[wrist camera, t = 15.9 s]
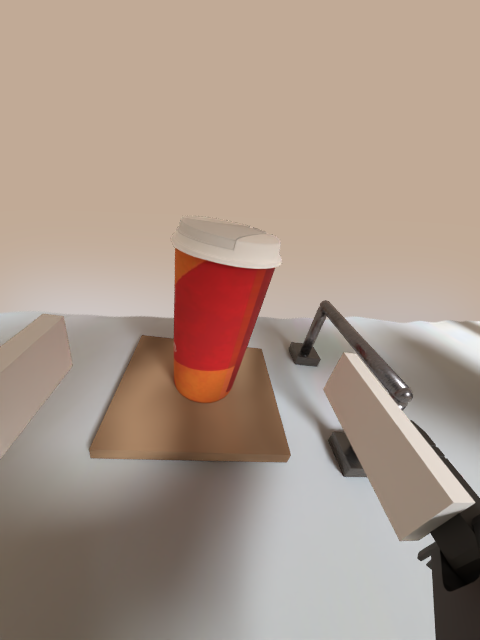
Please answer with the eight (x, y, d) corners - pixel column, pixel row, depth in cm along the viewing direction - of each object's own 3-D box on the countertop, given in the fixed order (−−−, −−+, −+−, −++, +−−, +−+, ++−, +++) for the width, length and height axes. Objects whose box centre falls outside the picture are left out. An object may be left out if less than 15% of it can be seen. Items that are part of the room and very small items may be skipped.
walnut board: (259, 355, 29) (261, 348, 29) (286, 462, 18) (290, 455, 18) (141, 342, 27) (141, 335, 26) (90, 458, 16) (89, 449, 15)
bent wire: (309, 351, 32) (333, 297, 28) (377, 476, 19) (443, 407, 15) (288, 349, 32) (310, 293, 28) (344, 476, 18) (403, 404, 14)
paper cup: (208, 345, 27) (231, 217, 20) (258, 386, 23) (308, 244, 16) (144, 372, 22) (145, 209, 15) (194, 432, 18) (229, 247, 11)
